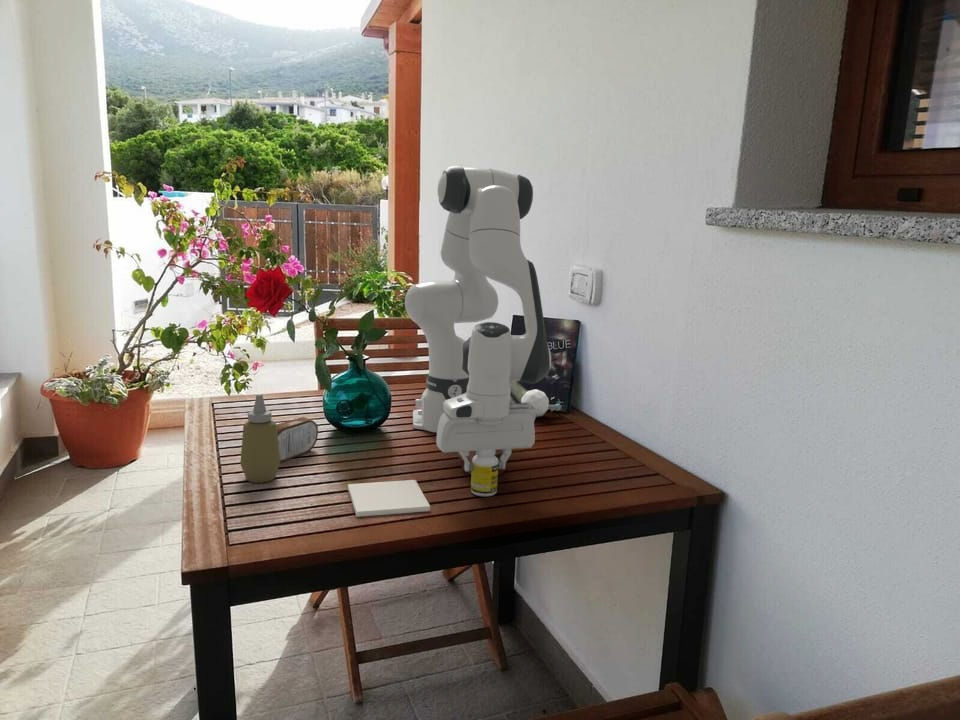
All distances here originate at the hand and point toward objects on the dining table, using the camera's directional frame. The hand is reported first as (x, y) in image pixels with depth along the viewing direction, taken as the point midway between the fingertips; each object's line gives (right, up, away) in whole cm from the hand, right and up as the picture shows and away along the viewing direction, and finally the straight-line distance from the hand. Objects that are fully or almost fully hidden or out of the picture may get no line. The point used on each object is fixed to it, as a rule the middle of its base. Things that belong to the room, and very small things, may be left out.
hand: (484, 469), depth 147 cm
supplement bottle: (0, -5, +1) cm, 5 cm away
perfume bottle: (+16, +6, +59) cm, 62 cm away
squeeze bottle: (-47, -3, +3) cm, 47 cm away
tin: (-44, 0, +17) cm, 47 cm away
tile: (-19, -5, -5) cm, 21 cm away
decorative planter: (-1, -2, +15) cm, 15 cm away
